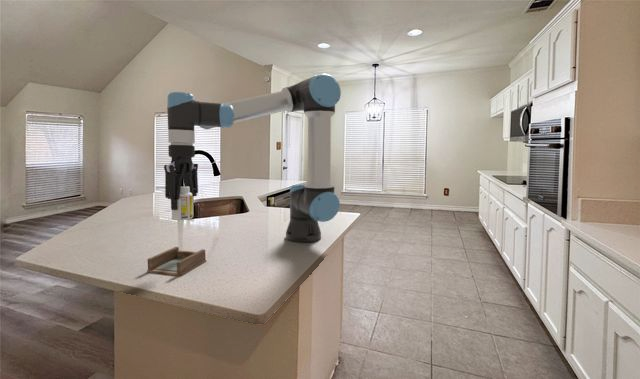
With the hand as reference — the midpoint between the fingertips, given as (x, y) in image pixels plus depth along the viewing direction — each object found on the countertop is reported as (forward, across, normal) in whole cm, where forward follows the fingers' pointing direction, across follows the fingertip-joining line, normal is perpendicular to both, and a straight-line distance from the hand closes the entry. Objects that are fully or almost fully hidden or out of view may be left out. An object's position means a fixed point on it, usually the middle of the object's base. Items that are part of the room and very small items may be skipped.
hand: (183, 217), depth 104 cm
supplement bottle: (+1, 0, 0) cm, 1 cm away
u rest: (+16, +1, -1) cm, 16 cm away
